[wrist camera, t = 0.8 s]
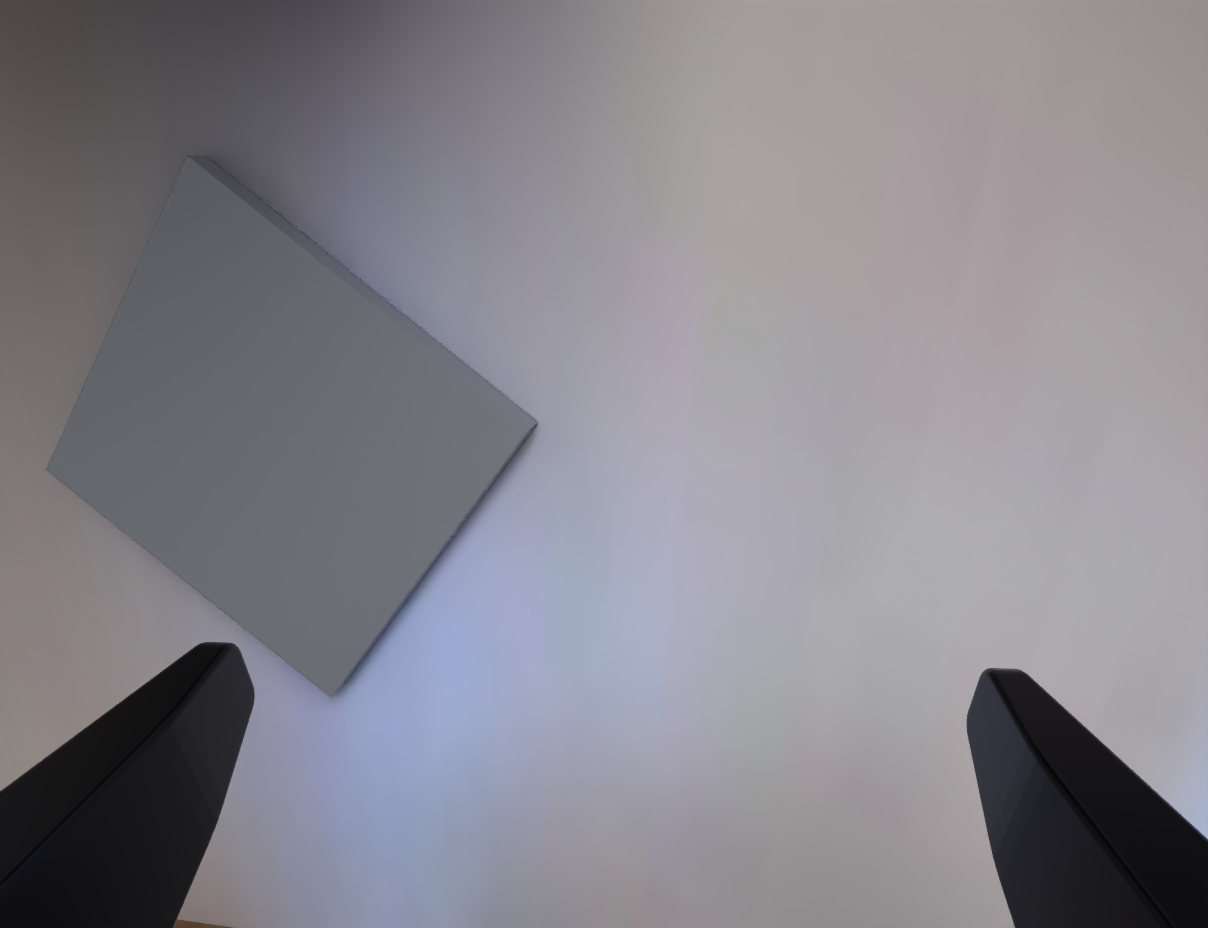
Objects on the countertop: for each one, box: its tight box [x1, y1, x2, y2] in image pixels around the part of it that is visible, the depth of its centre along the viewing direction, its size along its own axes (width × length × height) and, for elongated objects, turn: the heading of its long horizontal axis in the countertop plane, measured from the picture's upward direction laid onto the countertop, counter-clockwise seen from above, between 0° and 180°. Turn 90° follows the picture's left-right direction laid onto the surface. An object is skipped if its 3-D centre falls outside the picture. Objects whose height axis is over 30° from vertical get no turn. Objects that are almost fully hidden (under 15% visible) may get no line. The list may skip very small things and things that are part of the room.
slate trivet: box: [46, 155, 538, 697], centre depth 26 cm, size 12×12×1 cm
